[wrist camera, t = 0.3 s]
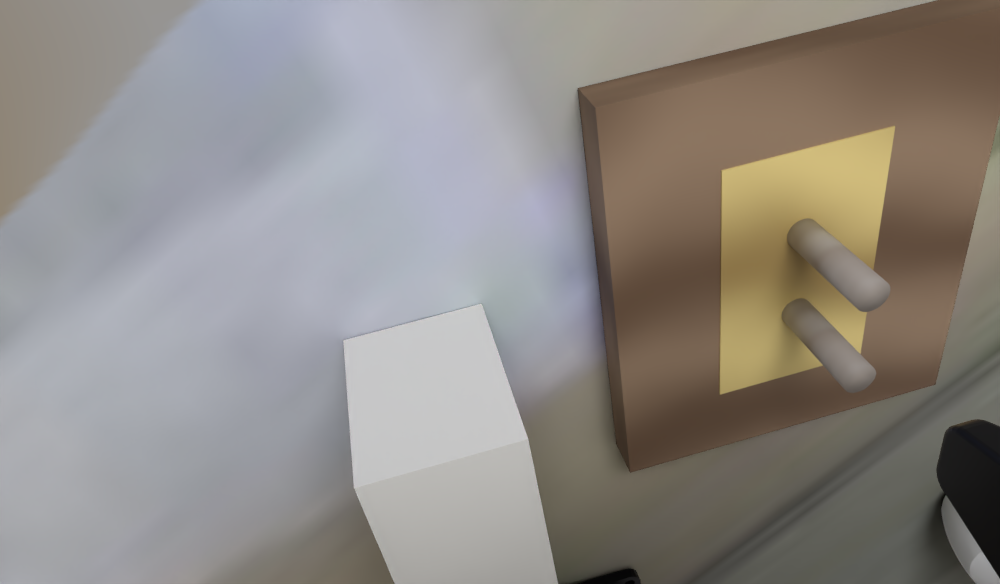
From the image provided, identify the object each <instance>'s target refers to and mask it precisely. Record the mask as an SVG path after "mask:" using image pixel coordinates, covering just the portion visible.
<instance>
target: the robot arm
mask: <svg viewBox="0 0 1000 584" xmlns="http://www.w3.org/2000/svg"><path fill="white" fill-rule="evenodd" d="M937 478H938V481H939V483H940V486H941V488H942V489H943V491H944V493H945V494H946V496H947V497H948V499H949V500H950V502H951V504H952V505H953V507H954V508H955V510H956V511H957V513H958V515H959V516H960V518H961V519H962V521H963V522H964V524H965V525H966V527H967V529H968V530H969V532H970V533H971V535H972V536H973V538H974V539H975V541H976V543H977V544H978V546H979V547H980V549H981V550H982V552H983V553H984V555H985V557H986V558H987V560H988V561H989V563H990V564H991V566H992V568H993V569H994V571H995V572H996V574H997V575H998V577H999V578H1000V426H997V425H995V424H993V423H990V422H988V421H984V420H978V419H977V420H971V421H967V422H964V423H960V424H957V425H953V426H951V427H949V428H948V429H947V430H946V432H945V435H944V439H943V443H942V447H941V451H940V455H939V460H938V464H937ZM579 584H641V583H640V579H639V576H638V574H637V572H636V570H634V569H626V570H622V571H619V572H615V573H612V574H609V575H605V576H602V577H599V578H595V579H592V580H589V581H585V582H582V583H579Z"/></svg>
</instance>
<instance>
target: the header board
mask: <svg viewBox="0 0 1000 584" xmlns="http://www.w3.org/2000/svg"><path fill="white" fill-rule="evenodd" d="M578 94H579V103H580V113H581V122H582V131H583V140H584V150H585V159H586V168H587V177H588V187H589V196H590V205H591V214H592V224H593V233H594V242H595V251H596V261H597V270H598V279H599V289H600V298H601V307H602V316H603V326H604V335H605V344H606V353H607V363H608V372H609V381H610V390H611V400H612V409H613V418H614V427H615V437H616V444H617V446H618V448H619V450H620V452H621V454H622V456H623V458H624V461H625V463H626V465H627V467H628V469H629V471H630V473H631V472H634V471H638V470H641V469H644V468H648V467H651V466H655V465H658V464H662V463H665V462H669V461H672V460H676V459H679V458H683V457H686V456H689V455H693V454H696V453H700V452H703V451H707V450H710V449H714V448H717V447H721V446H724V445H728V444H731V443H734V442H738V441H741V440H745V439H748V438H752V437H755V436H759V435H762V434H766V433H769V432H773V431H776V430H780V429H783V428H786V427H790V426H793V425H797V424H800V423H804V422H807V421H811V420H814V419H818V418H821V417H825V416H828V415H831V414H835V413H838V412H842V411H845V410H849V409H852V408H856V407H859V406H863V405H866V404H870V403H873V402H876V401H880V400H883V399H887V398H890V397H894V396H897V395H901V394H904V393H908V392H911V391H915V390H918V389H922V388H925V387H928V386H932V385H935V384H936V380H937V376H938V372H939V368H940V363H941V359H942V355H943V351H944V347H945V342H946V338H947V334H948V330H949V325H950V321H951V317H952V313H953V309H954V304H955V300H956V296H957V292H958V288H959V283H960V279H961V275H962V271H963V267H964V262H965V258H966V254H967V250H968V246H969V241H970V237H971V233H972V229H973V225H974V220H975V216H976V212H977V208H978V204H979V199H980V195H981V191H982V187H983V183H984V178H985V174H986V170H987V166H988V162H989V157H990V153H991V149H992V145H993V141H994V136H995V132H996V128H997V124H998V120H999V115H1000V0H937V1H933V2H929V3H925V4H921V5H917V6H913V7H909V8H904V9H900V10H896V11H892V12H888V13H884V14H880V15H876V16H872V17H868V18H864V19H859V20H855V21H851V22H847V23H843V24H839V25H835V26H831V27H827V28H823V29H819V30H814V31H810V32H806V33H802V34H798V35H794V36H790V37H786V38H782V39H778V40H774V41H769V42H765V43H761V44H757V45H753V46H749V47H745V48H741V49H737V50H733V51H729V52H724V53H720V54H716V55H712V56H708V57H704V58H700V59H696V60H692V61H688V62H684V63H679V64H675V65H671V66H667V67H663V68H659V69H655V70H651V71H647V72H643V73H639V74H634V75H630V76H626V77H622V78H618V79H614V80H610V81H606V82H602V83H598V84H594V85H589V86H585V87H581V88H578Z"/></svg>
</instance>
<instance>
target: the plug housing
mask: <svg viewBox="0 0 1000 584" xmlns="http://www.w3.org/2000/svg"><path fill="white" fill-rule="evenodd" d="M343 343H344V357H345V371H346V384H347V398H348V412H349V426H350V440H351V454H352V468H353V482H354V490H355V492H356V494H357V497H358V499H359V501H360V504H361V506H362V508H363V511H364V513H365V515H366V518H367V520H368V522H369V525H370V527H371V529H372V532H373V534H374V536H375V539H376V541H377V543H378V546H379V548H380V550H381V553H382V555H383V557H384V560H385V562H386V564H387V567H388V569H389V572H390V574H391V576H392V579H393V581H394V583H395V584H558V581H557V576H556V571H555V566H554V562H553V557H552V552H551V547H550V542H549V537H548V533H547V528H546V523H545V518H544V513H543V508H542V504H541V499H540V494H539V489H538V484H537V479H536V475H535V470H534V465H533V460H532V455H531V450H530V446H529V441H528V437H527V434H526V431H525V428H524V426H523V423H522V420H521V417H520V414H519V411H518V408H517V405H516V402H515V399H514V396H513V393H512V391H511V388H510V385H509V382H508V379H507V376H506V373H505V370H504V367H503V364H502V361H501V359H500V356H499V353H498V350H497V347H496V344H495V341H494V338H493V335H492V332H491V329H490V326H489V324H488V321H487V318H486V315H485V312H484V309H483V306H482V304H478V305H474V306H470V307H467V308H463V309H459V310H455V311H451V312H448V313H444V314H440V315H436V316H433V317H429V318H425V319H421V320H418V321H414V322H410V323H406V324H403V325H399V326H395V327H391V328H387V329H384V330H380V331H376V332H372V333H369V334H365V335H361V336H357V337H354V338H350V339H346V340H343Z"/></svg>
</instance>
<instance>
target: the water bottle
mask: <svg viewBox="0 0 1000 584" xmlns="http://www.w3.org/2000/svg"><path fill="white" fill-rule="evenodd" d="M941 513H942V519H943V524H944V528H945V532H946V535H947V537H948V540H949V543H950V545H951V547H952V549H953V551H954V553H955V555H956V557H957V558H958V560H959V562H960V563H961V565H962V566H963V568H964V569H965V571H966V572H967V574H968V575H969V576H970V577H971V579H972V580H973V581H974V582H975V583H976V584H1000V578H999V577H998V575H997V574H996V572H995V571H994V569H993V568H992V566H991V564H990V563H989V561H988V560H987V558H986V557H985V555H984V553H983V552H982V550H981V549H980V547H979V546H978V544H977V543H976V541H975V539H974V538H973V536H972V535H971V533H970V532H969V530H968V529H967V527H966V525H965V524H964V522H963V521H962V519H961V518H960V516H959V515H958V513H957V511H956V510H955V508H954V507H953V505H952V504H951V502H950V500H949V499H948V497H947V496H946V495H945V497H944V500H943V503H942V507H941Z"/></svg>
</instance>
